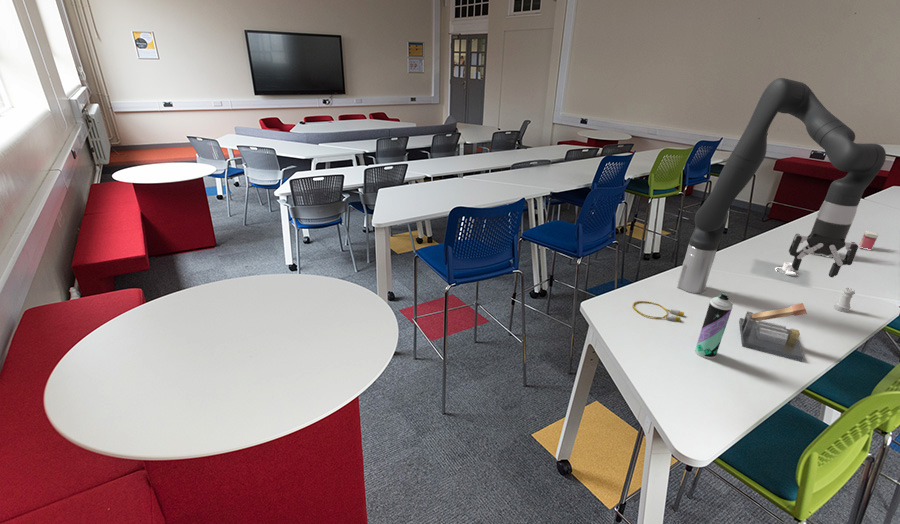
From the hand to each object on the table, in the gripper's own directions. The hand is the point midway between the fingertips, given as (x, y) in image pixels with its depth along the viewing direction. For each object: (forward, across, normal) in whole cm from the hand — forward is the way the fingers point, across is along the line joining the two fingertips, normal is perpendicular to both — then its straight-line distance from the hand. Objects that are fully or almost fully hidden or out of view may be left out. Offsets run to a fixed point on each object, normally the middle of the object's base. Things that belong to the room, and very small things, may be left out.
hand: (812, 273), depth 127 cm
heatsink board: (+24, -4, 0) cm, 25 cm away
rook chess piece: (+25, +22, +37) cm, 49 cm away
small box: (+25, +47, +117) cm, 129 cm away
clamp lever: (+16, -5, 0) cm, 16 cm away
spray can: (+24, -22, -18) cm, 37 cm away
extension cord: (+25, -37, 0) cm, 44 cm away
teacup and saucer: (+25, +7, +63) cm, 68 cm away
